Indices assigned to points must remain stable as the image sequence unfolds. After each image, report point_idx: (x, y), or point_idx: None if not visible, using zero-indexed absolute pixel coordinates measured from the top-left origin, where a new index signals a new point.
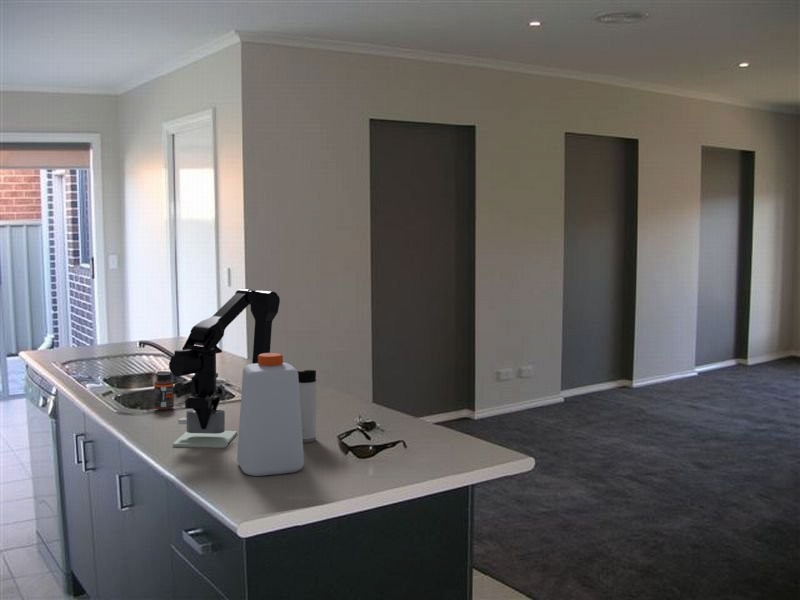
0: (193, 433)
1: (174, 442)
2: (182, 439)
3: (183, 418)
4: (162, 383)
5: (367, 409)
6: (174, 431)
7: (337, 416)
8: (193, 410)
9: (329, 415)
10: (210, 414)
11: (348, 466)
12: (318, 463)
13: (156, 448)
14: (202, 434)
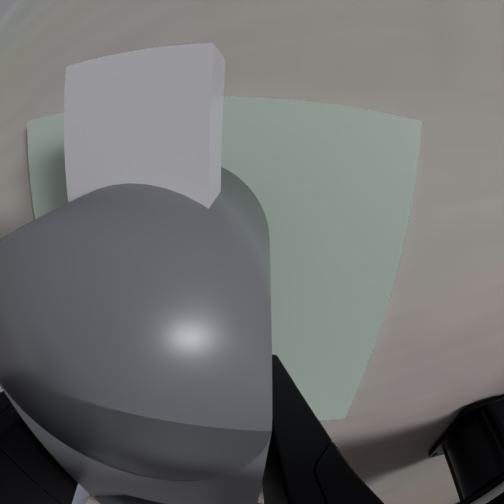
0: (308, 185)
1: (48, 118)
2: None
3: (152, 111)
4: None
5: (458, 497)
6: (434, 24)
7: (439, 494)
8: (151, 387)
9: (454, 485)
10: (69, 483)
11: (94, 501)
12: None
13: (18, 49)
14: (274, 266)
